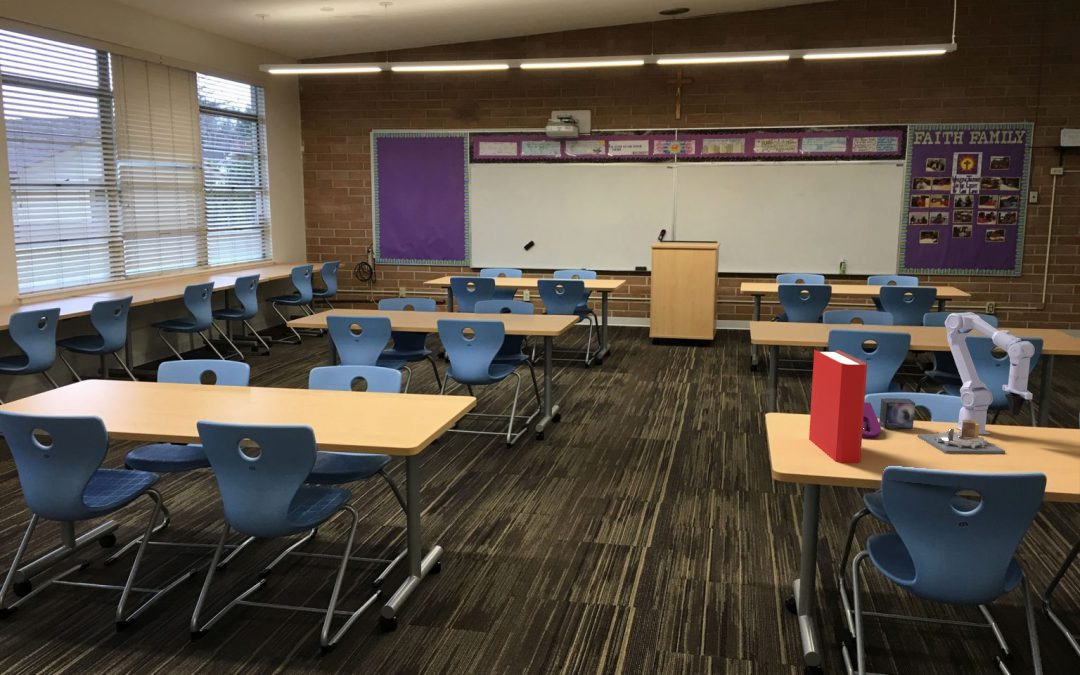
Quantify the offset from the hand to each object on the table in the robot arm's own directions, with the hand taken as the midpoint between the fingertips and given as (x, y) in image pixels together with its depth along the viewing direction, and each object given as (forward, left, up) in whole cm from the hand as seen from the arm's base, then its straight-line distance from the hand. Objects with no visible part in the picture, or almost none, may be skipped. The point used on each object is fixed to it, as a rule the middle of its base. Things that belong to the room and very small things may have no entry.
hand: (1014, 415), depth 295 cm
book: (+10, -66, -10) cm, 68 cm away
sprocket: (+3, -20, -9) cm, 22 cm away
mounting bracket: (-13, -47, -10) cm, 50 cm away
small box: (-20, -32, -10) cm, 39 cm away
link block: (0, -16, -7) cm, 18 cm away
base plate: (+3, -20, -10) cm, 23 cm away
